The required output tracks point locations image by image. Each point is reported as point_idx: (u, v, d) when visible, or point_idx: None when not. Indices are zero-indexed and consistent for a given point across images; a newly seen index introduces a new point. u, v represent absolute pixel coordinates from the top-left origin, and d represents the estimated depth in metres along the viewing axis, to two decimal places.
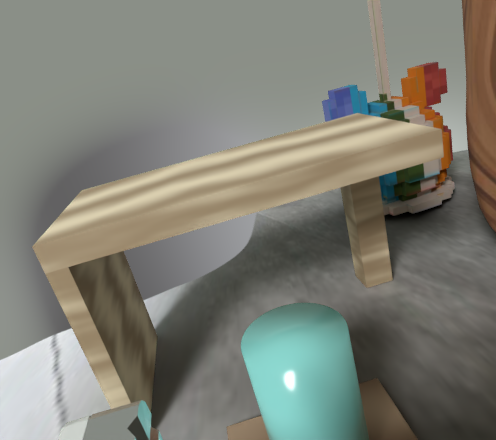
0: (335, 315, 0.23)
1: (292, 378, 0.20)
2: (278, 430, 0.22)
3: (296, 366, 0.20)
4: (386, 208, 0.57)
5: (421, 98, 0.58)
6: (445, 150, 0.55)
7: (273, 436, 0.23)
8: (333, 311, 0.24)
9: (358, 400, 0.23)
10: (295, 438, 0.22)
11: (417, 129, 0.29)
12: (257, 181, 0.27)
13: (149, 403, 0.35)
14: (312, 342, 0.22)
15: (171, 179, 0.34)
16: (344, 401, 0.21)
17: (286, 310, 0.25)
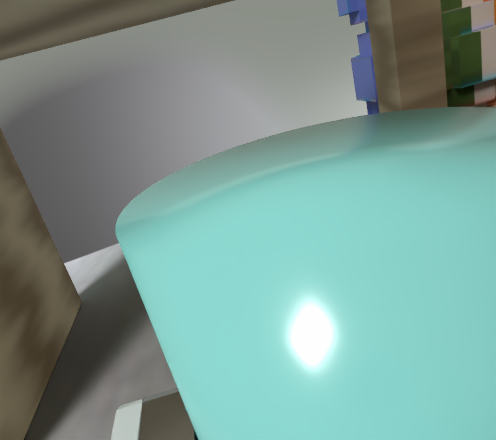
0: (459, 111, 0.07)
1: (331, 287, 0.03)
2: None
3: (349, 227, 0.04)
4: None
5: None
6: None
7: None
8: (446, 109, 0.07)
9: None
10: None
11: None
12: None
13: (28, 410, 0.19)
14: (401, 162, 0.05)
15: None
16: None
17: (288, 136, 0.08)
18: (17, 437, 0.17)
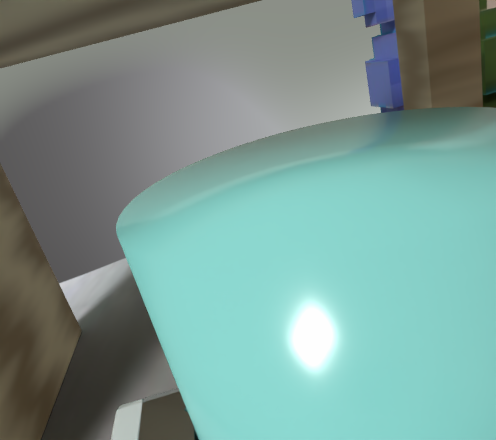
0: (459, 111, 0.07)
1: (330, 285, 0.03)
2: None
3: (350, 225, 0.04)
4: None
5: None
6: None
7: None
8: (446, 109, 0.07)
9: None
10: None
11: None
12: None
13: None
14: (401, 162, 0.05)
15: None
16: None
17: (288, 136, 0.08)
18: None
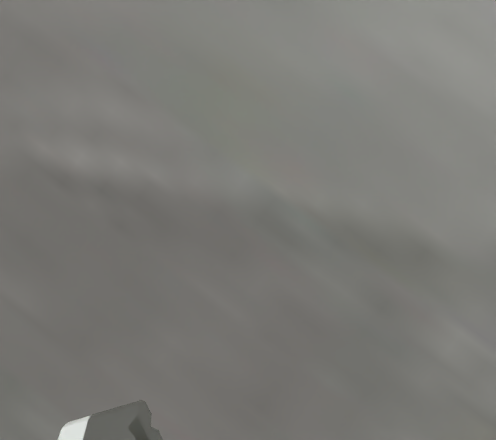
0: None
1: None
2: None
3: None
4: None
5: None
6: None
7: None
8: None
9: None
10: None
11: None
12: None
13: None
14: None
15: None
16: None
17: None
18: None
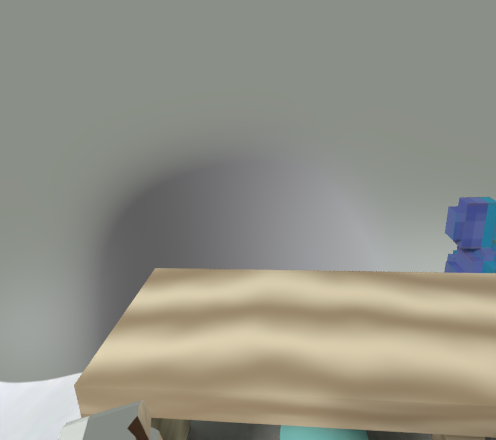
0: (362, 431, 0.28)
1: None
2: None
3: None
4: None
5: None
6: None
7: None
8: None
9: None
10: None
11: None
12: (352, 395, 0.21)
13: None
14: None
15: (250, 310, 0.29)
16: None
17: None
18: None
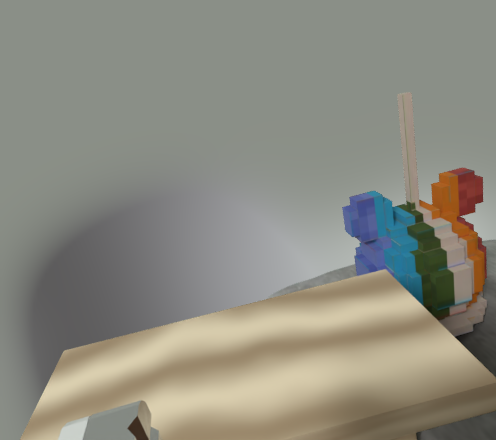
0: None
1: None
2: None
3: None
4: None
5: (453, 208, 0.52)
6: (479, 273, 0.49)
7: None
8: None
9: None
10: None
11: (466, 366, 0.23)
12: None
13: None
14: None
15: (163, 373, 0.28)
16: None
17: None
18: None
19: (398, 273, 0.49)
